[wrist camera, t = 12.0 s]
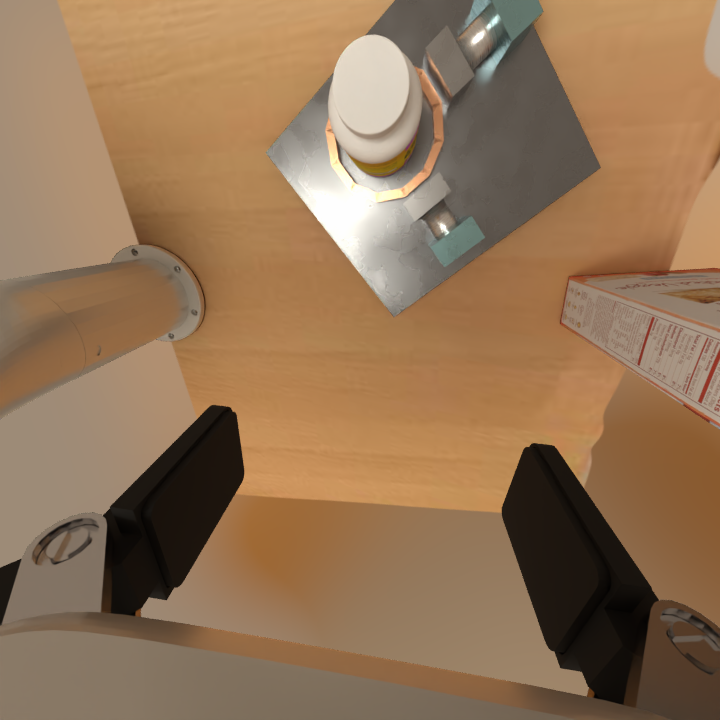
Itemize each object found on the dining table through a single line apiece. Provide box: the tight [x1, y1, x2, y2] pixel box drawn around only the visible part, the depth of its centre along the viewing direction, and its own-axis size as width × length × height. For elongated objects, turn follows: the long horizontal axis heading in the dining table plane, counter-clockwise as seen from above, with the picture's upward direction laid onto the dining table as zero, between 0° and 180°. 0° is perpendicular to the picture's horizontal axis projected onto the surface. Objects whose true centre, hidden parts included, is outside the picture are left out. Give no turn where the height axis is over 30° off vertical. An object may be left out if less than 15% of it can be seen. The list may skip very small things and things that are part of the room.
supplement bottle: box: [328, 35, 422, 177], centre depth 24 cm, size 7×7×13 cm
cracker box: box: [560, 268, 720, 429], centre depth 24 cm, size 14×6×21 cm, turn 95°
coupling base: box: [266, 0, 601, 317], centre depth 29 cm, size 24×22×5 cm
